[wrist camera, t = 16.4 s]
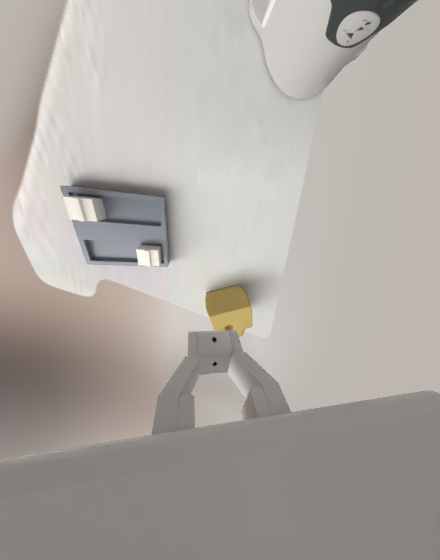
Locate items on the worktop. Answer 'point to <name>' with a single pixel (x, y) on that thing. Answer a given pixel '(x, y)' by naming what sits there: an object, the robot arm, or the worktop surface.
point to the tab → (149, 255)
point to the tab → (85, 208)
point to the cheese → (229, 309)
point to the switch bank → (122, 226)
